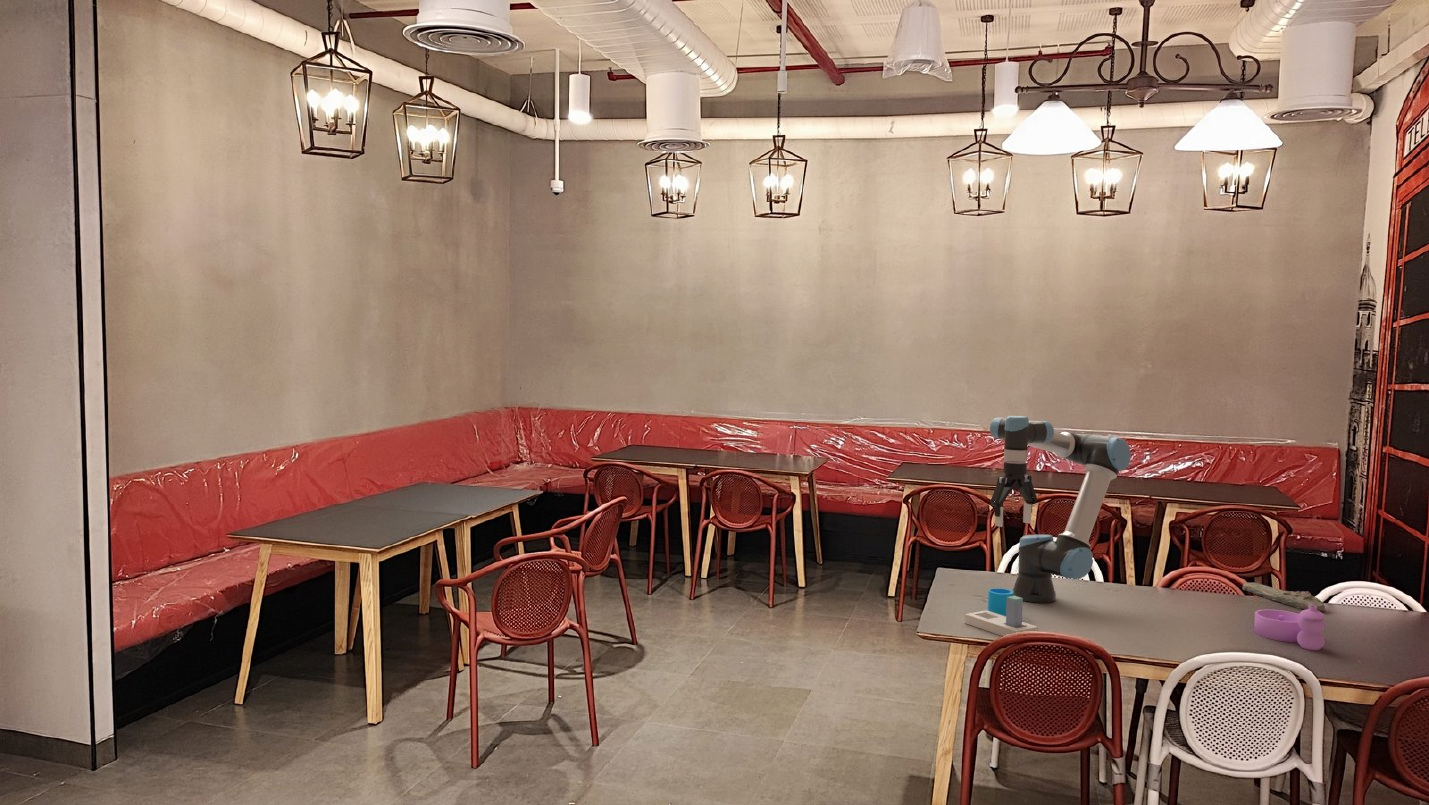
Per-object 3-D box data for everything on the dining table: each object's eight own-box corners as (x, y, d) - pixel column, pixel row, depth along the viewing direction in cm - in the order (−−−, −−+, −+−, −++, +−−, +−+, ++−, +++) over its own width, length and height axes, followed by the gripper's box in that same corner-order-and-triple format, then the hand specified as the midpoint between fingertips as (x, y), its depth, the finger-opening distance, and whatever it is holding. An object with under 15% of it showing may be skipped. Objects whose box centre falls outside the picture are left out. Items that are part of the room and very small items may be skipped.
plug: (1013, 631, 329) (1014, 595, 328) (1021, 634, 326) (1022, 598, 325) (1005, 633, 327) (1006, 597, 326) (1013, 636, 324) (1015, 599, 323)
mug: (1011, 619, 344) (1012, 595, 343) (986, 616, 346) (987, 592, 346) (1013, 610, 355) (1014, 587, 354) (989, 607, 358) (990, 584, 357)
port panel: (964, 623, 338) (964, 613, 337) (986, 619, 343) (986, 609, 343) (1015, 640, 319) (1016, 630, 319) (1037, 636, 324) (1038, 626, 324)
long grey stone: (1256, 592, 394) (1235, 594, 391) (1255, 578, 394) (1234, 581, 391) (1333, 611, 360) (1311, 614, 357) (1333, 596, 360) (1310, 599, 357)
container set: (1243, 629, 337) (1245, 589, 336) (1286, 628, 339) (1288, 589, 338) (1296, 652, 312) (1298, 610, 312) (1341, 651, 314) (1343, 609, 313)
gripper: (1032, 458, 352) (1029, 519, 353) (980, 462, 339) (978, 525, 340) (1049, 461, 346) (1047, 523, 347) (997, 465, 333) (995, 529, 334)
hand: (1012, 524), depth 344 cm, fingers open, 13 cm apart
